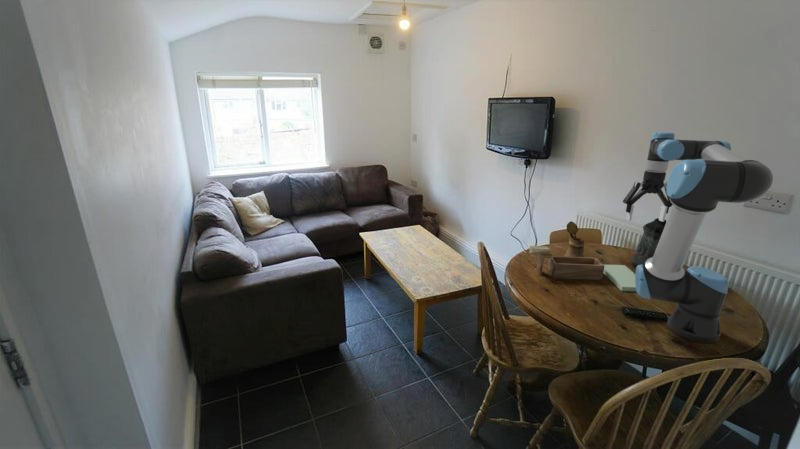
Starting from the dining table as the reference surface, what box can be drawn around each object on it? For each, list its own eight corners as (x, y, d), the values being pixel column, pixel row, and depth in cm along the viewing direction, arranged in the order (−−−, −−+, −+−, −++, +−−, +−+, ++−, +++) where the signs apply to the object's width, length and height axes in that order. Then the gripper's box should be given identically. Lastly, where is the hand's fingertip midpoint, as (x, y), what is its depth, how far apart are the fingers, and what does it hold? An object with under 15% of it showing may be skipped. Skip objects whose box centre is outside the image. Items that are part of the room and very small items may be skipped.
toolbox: (601, 279, 174) (606, 258, 170) (540, 277, 176) (543, 256, 172) (593, 270, 183) (597, 250, 179) (535, 268, 185) (537, 248, 181)
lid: (623, 269, 185) (624, 265, 184) (649, 293, 163) (651, 287, 163) (598, 268, 186) (599, 264, 185) (621, 291, 164) (622, 286, 163)
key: (548, 254, 175) (549, 248, 174) (530, 254, 176) (531, 248, 175) (546, 252, 178) (547, 246, 177) (529, 251, 179) (530, 245, 178)
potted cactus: (573, 252, 204) (579, 220, 198) (587, 262, 191) (593, 229, 185) (557, 252, 203) (562, 221, 198) (570, 263, 191) (575, 229, 185)
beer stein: (660, 262, 193) (671, 215, 185) (679, 279, 175) (693, 228, 167) (625, 259, 196) (634, 213, 187) (640, 276, 177) (652, 225, 169)
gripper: (681, 170, 158) (669, 218, 165) (619, 168, 160) (610, 217, 166) (693, 173, 151) (680, 223, 158) (629, 171, 153) (619, 222, 159)
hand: (644, 220), depth 162 cm, fingers open, 13 cm apart
